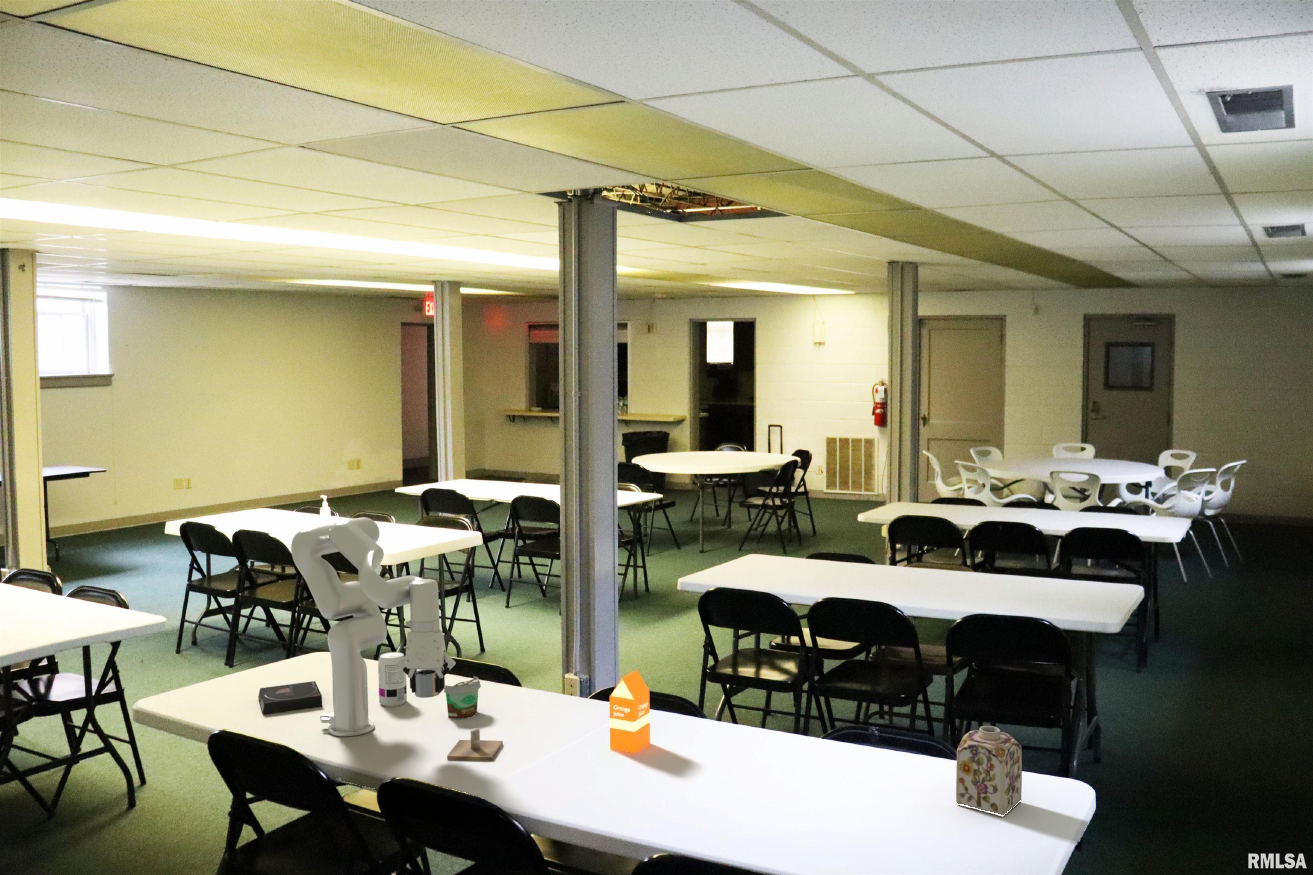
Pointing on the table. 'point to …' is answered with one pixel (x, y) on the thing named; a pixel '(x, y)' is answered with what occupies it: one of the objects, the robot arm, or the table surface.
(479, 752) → the wooden peg base
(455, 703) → the food container
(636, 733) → the orange juice
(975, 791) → the decorative jar
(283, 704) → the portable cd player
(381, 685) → the supplement can
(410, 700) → the table surface
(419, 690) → the sleeve
